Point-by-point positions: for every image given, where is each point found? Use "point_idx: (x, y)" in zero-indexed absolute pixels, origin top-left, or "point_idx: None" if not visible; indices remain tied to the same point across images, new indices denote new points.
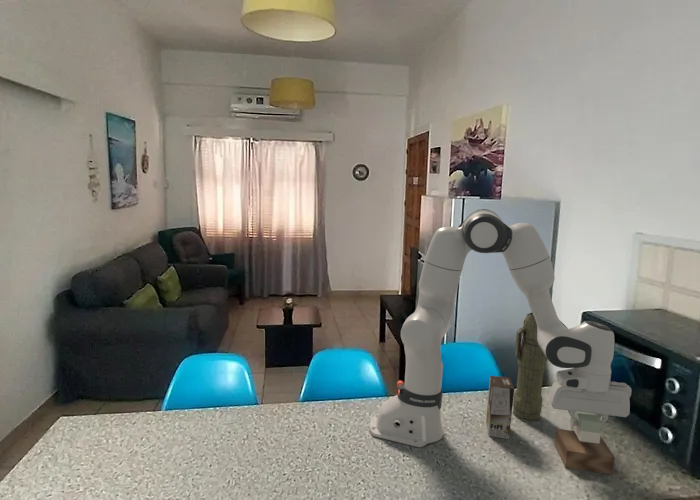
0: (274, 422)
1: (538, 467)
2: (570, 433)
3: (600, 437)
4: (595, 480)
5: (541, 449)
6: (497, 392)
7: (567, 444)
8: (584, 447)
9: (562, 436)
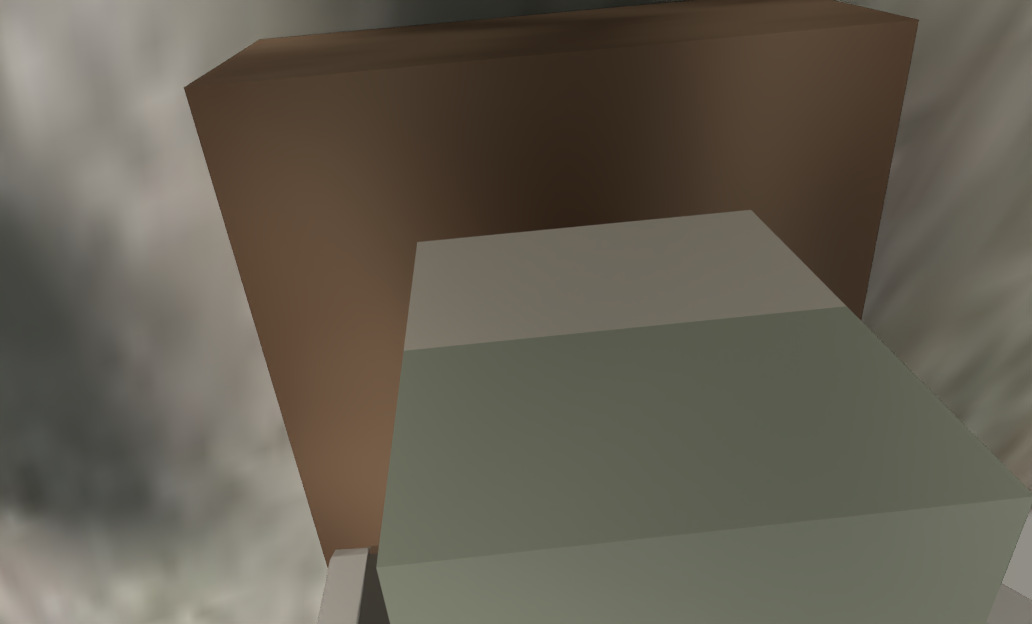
0: None
1: (136, 521)
2: (420, 178)
3: (880, 135)
4: None
5: (118, 224)
6: None
7: (346, 482)
8: None
9: (290, 316)
